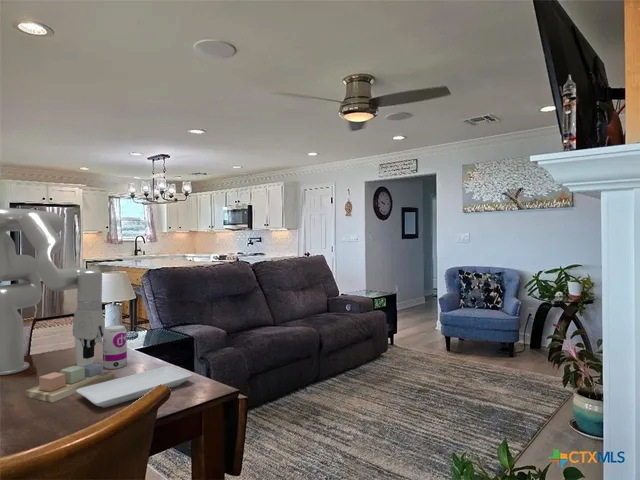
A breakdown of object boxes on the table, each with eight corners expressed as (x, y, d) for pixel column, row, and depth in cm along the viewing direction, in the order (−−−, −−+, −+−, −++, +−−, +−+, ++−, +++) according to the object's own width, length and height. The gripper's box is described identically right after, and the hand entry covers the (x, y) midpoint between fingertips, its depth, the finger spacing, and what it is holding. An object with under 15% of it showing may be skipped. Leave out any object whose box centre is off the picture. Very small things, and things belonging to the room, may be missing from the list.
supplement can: (131, 365, 162) (130, 326, 162) (110, 371, 155) (110, 330, 155) (118, 361, 167) (118, 323, 166) (98, 367, 160) (98, 327, 159)
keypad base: (25, 396, 132) (25, 389, 132) (89, 373, 153) (89, 366, 153) (52, 402, 127) (52, 395, 127) (114, 377, 149) (114, 371, 149)
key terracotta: (39, 389, 132) (39, 377, 132) (54, 384, 137) (54, 372, 137) (50, 391, 130) (50, 379, 130) (65, 386, 135) (65, 373, 135)
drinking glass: (86, 369, 157) (85, 329, 157) (70, 368, 159) (69, 328, 158) (98, 363, 164) (98, 325, 164) (83, 362, 165) (83, 324, 165)
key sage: (60, 382, 139) (60, 370, 139) (74, 377, 143) (73, 365, 143) (71, 384, 137) (71, 372, 137) (84, 379, 142) (84, 367, 141)
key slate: (79, 378, 145) (79, 367, 145) (91, 374, 150) (91, 363, 150) (90, 380, 143) (89, 369, 143) (102, 376, 148) (102, 364, 148)
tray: (74, 399, 130) (74, 388, 130) (169, 373, 154) (169, 364, 154) (96, 415, 119) (96, 403, 119) (194, 385, 143) (194, 374, 143)
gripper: (64, 304, 145) (63, 357, 146) (96, 309, 140) (95, 364, 140) (83, 301, 152) (82, 351, 153) (114, 305, 147) (113, 357, 147)
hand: (88, 357), depth 147 cm, fingers closed
